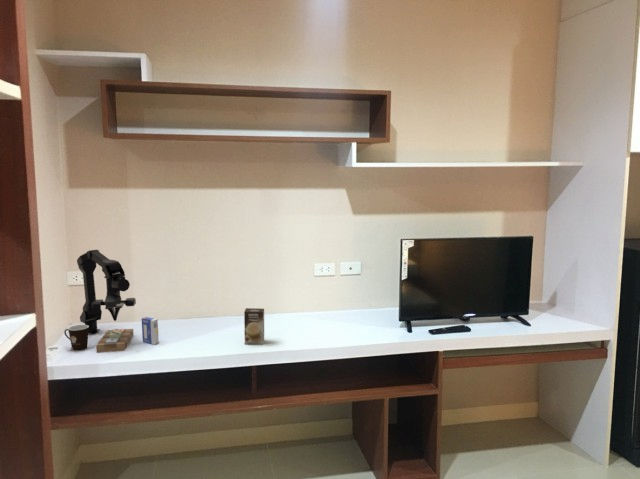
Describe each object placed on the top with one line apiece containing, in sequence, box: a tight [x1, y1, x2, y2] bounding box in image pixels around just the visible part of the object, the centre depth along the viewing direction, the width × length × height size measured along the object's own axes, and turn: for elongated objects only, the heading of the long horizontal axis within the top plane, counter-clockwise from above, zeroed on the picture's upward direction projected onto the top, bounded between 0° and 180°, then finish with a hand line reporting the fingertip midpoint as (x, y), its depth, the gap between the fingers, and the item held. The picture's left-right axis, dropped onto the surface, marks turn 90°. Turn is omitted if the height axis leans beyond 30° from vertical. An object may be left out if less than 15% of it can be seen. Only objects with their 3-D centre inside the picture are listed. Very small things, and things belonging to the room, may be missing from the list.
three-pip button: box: [109, 331, 122, 339], centre depth 244 cm, size 5×5×3 cm
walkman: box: [141, 316, 160, 345], centre depth 246 cm, size 8×3×12 cm, turn 61°
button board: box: [95, 328, 135, 353], centre depth 245 cm, size 22×12×4 cm, turn 10°
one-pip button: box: [106, 338, 119, 344], centre depth 238 cm, size 5×5×3 cm
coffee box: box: [243, 307, 265, 346], centre depth 245 cm, size 9×6×16 cm
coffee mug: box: [64, 324, 89, 352], centre depth 239 cm, size 12×9×10 cm
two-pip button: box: [113, 328, 126, 333], centre depth 251 cm, size 5×5×3 cm
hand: (115, 320), depth 244 cm, fingers closed
